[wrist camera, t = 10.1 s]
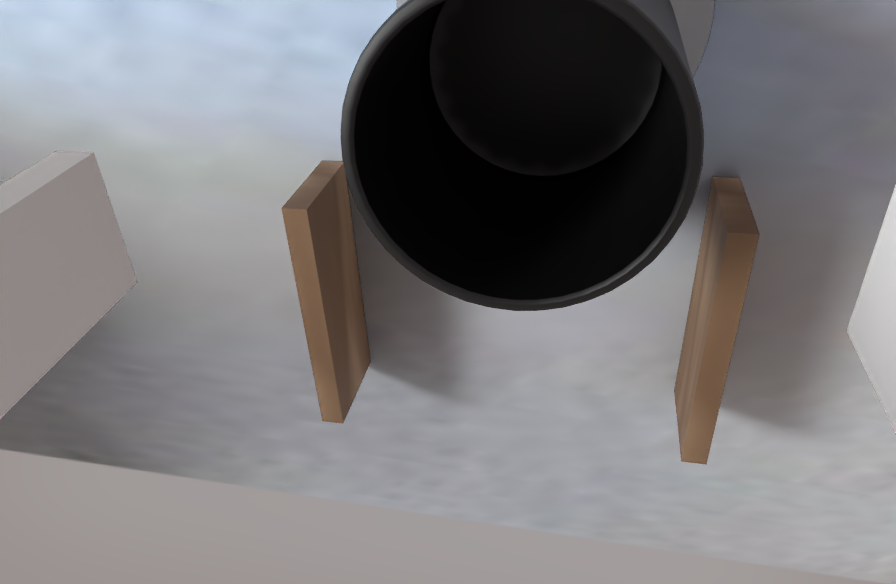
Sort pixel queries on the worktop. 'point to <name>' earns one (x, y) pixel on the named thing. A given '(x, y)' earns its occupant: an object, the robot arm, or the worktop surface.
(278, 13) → the worktop surface
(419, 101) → the mug
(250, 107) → the worktop surface
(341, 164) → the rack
